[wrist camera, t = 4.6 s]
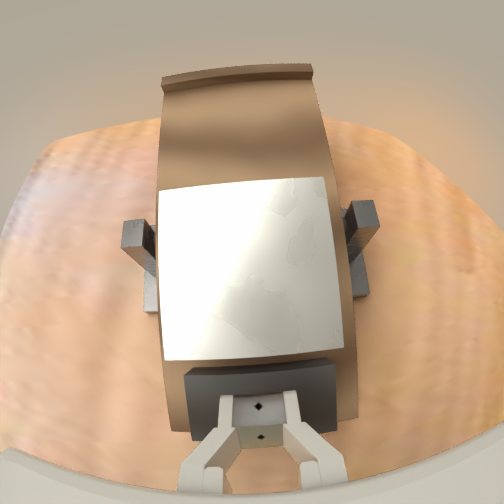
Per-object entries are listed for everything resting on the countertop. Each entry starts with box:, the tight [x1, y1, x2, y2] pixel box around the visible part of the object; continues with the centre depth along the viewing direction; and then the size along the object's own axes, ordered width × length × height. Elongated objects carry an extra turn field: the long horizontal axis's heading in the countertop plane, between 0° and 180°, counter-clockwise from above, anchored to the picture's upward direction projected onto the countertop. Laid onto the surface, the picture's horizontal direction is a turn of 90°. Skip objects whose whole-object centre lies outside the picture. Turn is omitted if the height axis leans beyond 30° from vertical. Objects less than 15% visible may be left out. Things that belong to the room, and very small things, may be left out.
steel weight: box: [159, 177, 344, 360], centre depth 14 cm, size 6×6×8 cm
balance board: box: [153, 64, 358, 441], centre depth 18 cm, size 26×13×5 cm, turn 4°
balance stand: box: [121, 200, 380, 313], centre depth 22 cm, size 8×19×8 cm, turn 94°
